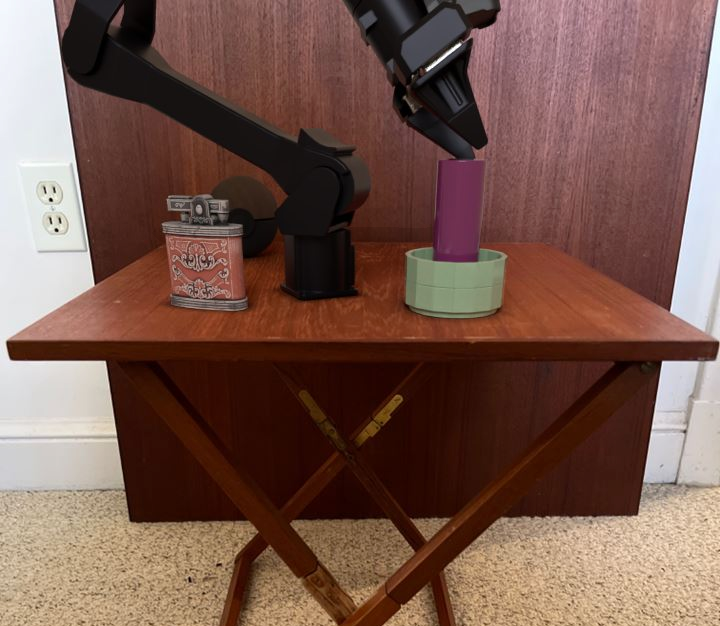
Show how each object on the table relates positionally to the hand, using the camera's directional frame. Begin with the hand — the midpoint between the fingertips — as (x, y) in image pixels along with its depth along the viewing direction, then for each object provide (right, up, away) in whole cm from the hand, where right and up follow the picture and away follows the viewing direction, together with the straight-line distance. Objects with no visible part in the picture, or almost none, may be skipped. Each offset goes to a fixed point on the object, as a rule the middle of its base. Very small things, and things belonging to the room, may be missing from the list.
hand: (477, 155), depth 64 cm
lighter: (-25, -13, +4) cm, 29 cm away
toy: (-26, 0, +30) cm, 40 cm away
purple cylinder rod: (-2, -13, +3) cm, 13 cm away
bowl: (-2, -13, +4) cm, 14 cm away
